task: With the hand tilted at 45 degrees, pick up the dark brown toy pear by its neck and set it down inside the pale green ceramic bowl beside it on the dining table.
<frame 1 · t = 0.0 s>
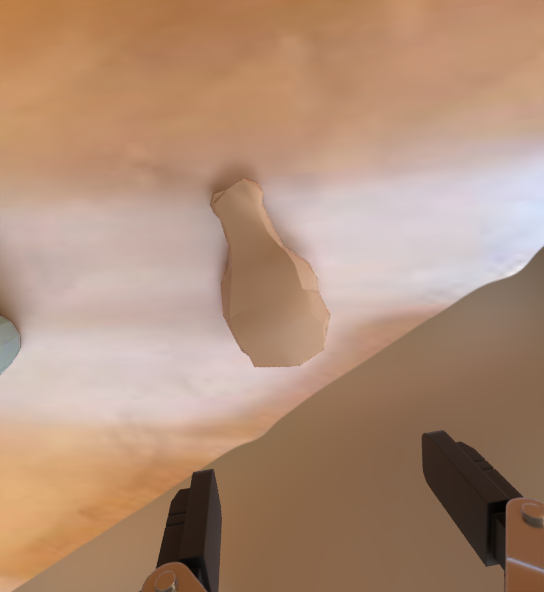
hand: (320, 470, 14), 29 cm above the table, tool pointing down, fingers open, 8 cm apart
squash: (259, 272, 42), on the table
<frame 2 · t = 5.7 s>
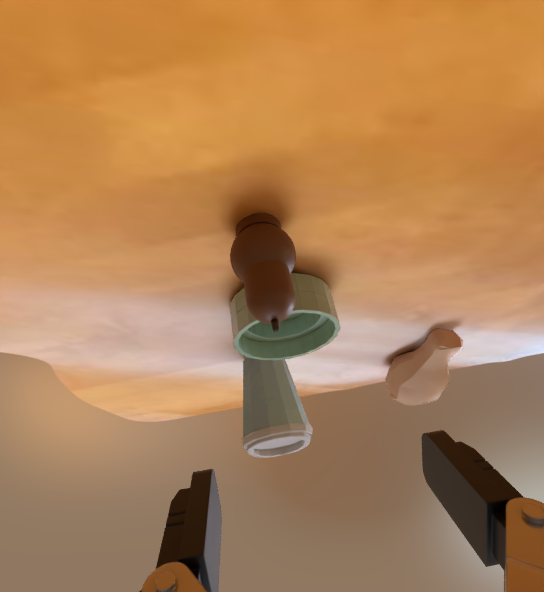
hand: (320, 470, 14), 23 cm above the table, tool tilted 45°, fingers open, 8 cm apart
disposable coffee cup: (264, 354, 61), on the table
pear: (258, 230, 35), on the table
bowl: (279, 299, 47), on the table
squash: (415, 349, 70), on the table
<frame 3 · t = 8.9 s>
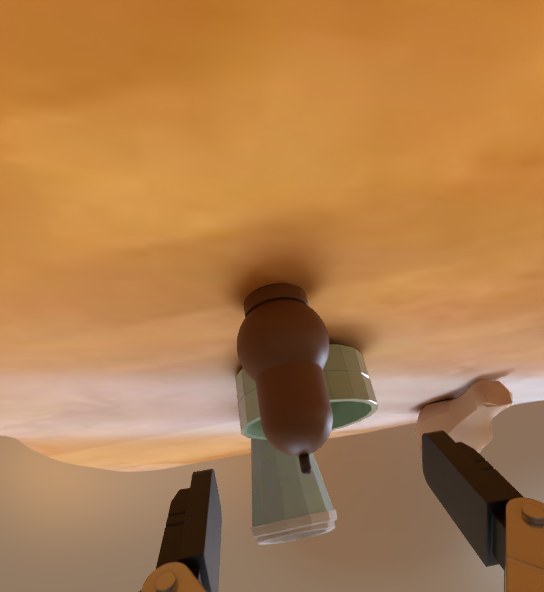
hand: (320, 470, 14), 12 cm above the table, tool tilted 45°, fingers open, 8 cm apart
disposable coffee cup: (275, 412, 51), on the table
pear: (275, 301, 26), on the table
bowl: (298, 366, 37), on the table
squash: (450, 397, 60), on the table
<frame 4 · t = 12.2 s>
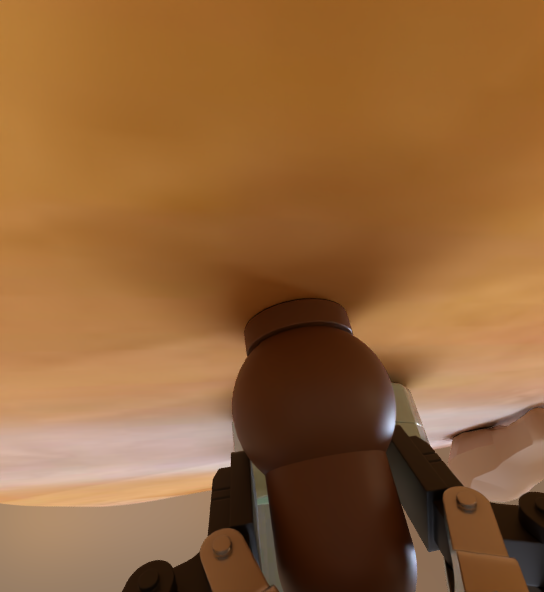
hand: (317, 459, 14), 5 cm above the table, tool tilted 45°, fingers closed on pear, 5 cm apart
disposable coffee cup: (283, 448, 41), on the table
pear: (295, 326, 16), on the table, touching gripper
bowl: (318, 405, 27), on the table
squash: (491, 424, 50), on the table
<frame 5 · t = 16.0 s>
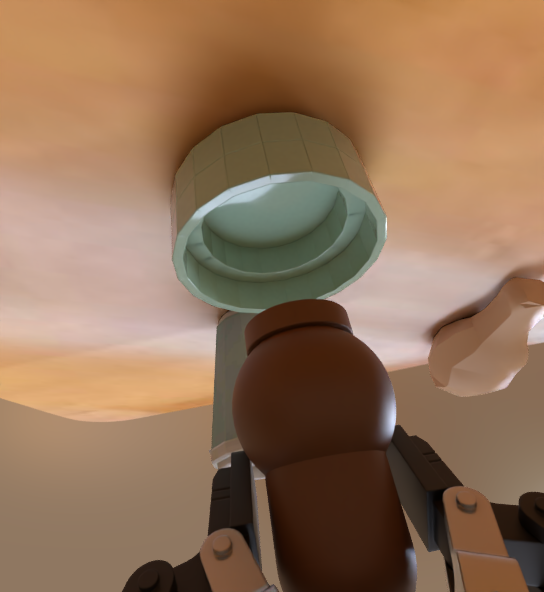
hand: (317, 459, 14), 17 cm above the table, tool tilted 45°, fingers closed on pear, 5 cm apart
disposable coffee cup: (250, 317, 39), on the table
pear: (295, 326, 16), point 12 cm above the table, touching gripper
bowl: (268, 196, 25), on the table
squash: (472, 315, 48), on the table
when the fingers open (6 cm above the table, at t = 20.2 s): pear stays where it is, resting on bowl.
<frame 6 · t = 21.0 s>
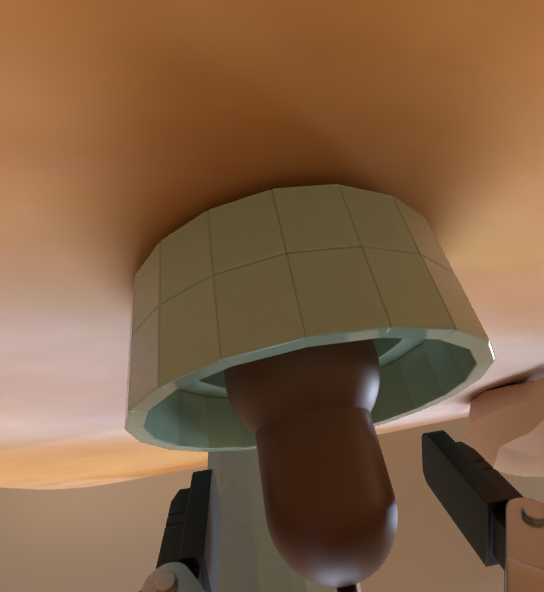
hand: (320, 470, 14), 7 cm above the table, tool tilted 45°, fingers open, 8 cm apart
disposable coffee cup: (253, 400, 31), on the table
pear: (285, 299, 16), point 1 cm above the table, touching bowl
bowl: (284, 288, 17), on the table
squash: (522, 379, 40), on the table
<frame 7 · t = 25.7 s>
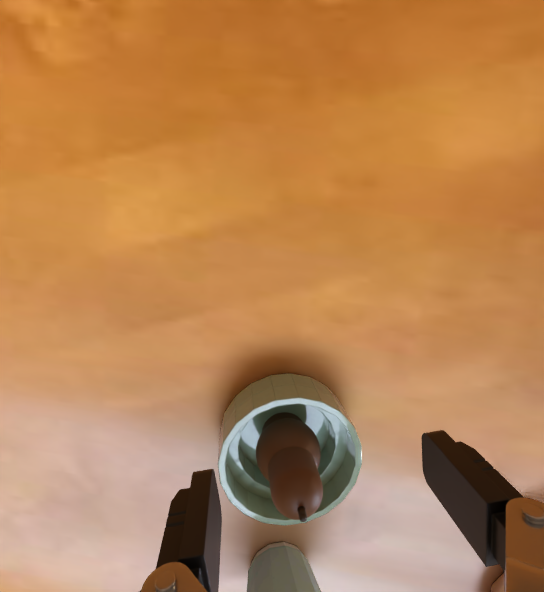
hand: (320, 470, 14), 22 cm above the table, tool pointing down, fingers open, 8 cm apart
disposable coffee cup: (280, 561, 42), on the table
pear: (283, 431, 37), point 1 cm above the table, touching bowl
bowl: (283, 428, 38), on the table
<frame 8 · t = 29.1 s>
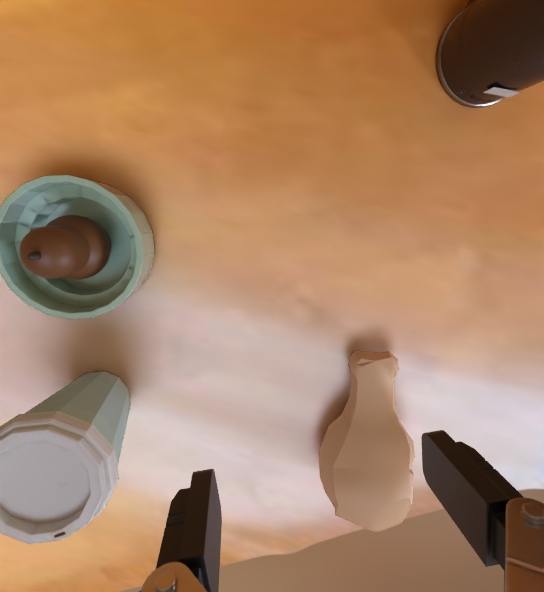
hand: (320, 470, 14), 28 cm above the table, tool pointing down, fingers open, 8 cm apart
disposable coffee cup: (105, 394, 42), on the table
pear: (89, 244, 37), point 1 cm above the table, touching bowl
bowl: (92, 245, 38), on the table
squash: (356, 419, 46), on the table
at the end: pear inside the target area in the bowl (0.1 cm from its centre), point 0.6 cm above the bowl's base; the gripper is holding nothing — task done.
